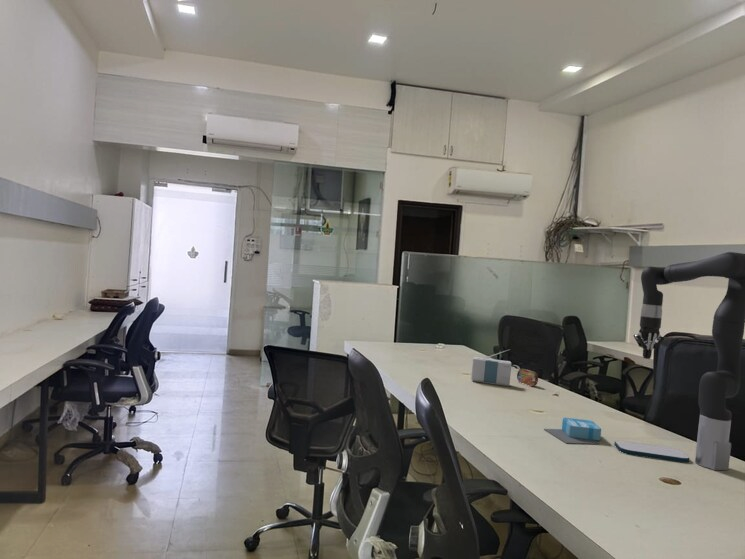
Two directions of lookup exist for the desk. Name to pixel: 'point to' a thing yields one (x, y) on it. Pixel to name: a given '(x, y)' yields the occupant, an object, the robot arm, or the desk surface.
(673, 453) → the white blue flat slab
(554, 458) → the desk surface
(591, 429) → the data package
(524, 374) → the tin
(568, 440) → the mat
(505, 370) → the stereo radio cassette player
